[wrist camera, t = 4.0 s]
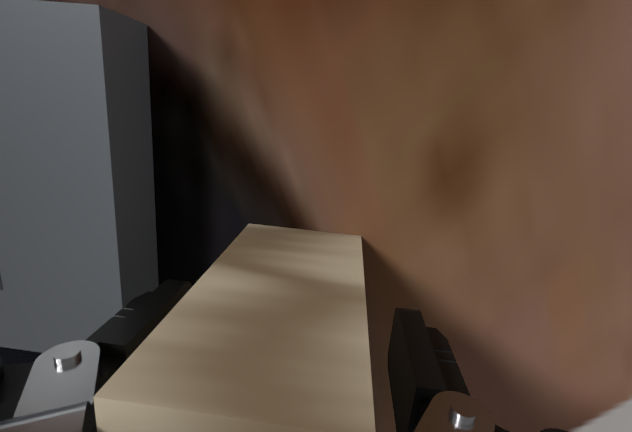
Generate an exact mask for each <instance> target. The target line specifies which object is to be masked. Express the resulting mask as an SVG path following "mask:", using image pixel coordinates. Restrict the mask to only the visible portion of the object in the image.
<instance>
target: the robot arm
mask: <svg viewBox="0 0 632 432" xmlns="http://www.w3.org/2000/svg"><path fill="white" fill-rule="evenodd" d="M191 288H192V285H191V283H190V282H189V281H181V280H173V279H166V280H165V281H164V282H163V283H161V284H160V285H159V286H158V287H157V288H156V289H155V290H154V291H153V292H150V291H148V292H146V293H144V294H142V295H140V296H138V297H135V298H133V299H132V300H131V301H130V302H129V303H128V304H127V305H125V306H124V307H123V309H121V310H120V311H118V312H117V313H116V314H115V316H114V317H111V318H110V319H109V320H108V321H107V322H106V323H105V324H103V325H102V326H101V327H100V328H99V329H98V330H96V331H95V332H94V333H93V334H92V335H91V336H89V337H88V338H87V339H86V340H77V341H70V342H66V343H62V344H59V345H57V346H54V347H52V348H50V349H48V350H46V351H45V352H43V353H42V354H41V355H40V356H39V357H38V358H37V359H36V360H35V362H32V363H20V364H9V365H2V360H1V355H0V432H97V425H96V417H95V408H94V399H93V397H94V395H95V394H96V393H97V392H98V391H99V390H100V389H101V388H102V387H103V385H104V384H105V383H106V382H107V381H108V380H109V379H110V378H111V377H112V375H113V374H114V373H115V372H116V371H117V370H118V369H119V368H120V367H121V365H122V364H123V363H124V362H125V361H126V360H127V359H128V358H129V357H130V355H131V354H132V353H133V352H134V351H135V350H136V349H137V348H138V347H139V345H140V344H141V343H142V342H143V341H144V340H145V339H146V338H147V337H148V335H149V334H150V333H151V332H152V331H153V330H154V329H155V328H156V327H157V325H158V324H159V323H160V322H161V321H162V320H163V319H164V318H165V317H166V315H167V314H168V313H169V312H170V311H171V310H172V309H173V308H174V307H175V305H176V304H177V303H178V302H179V301H180V300H181V299H182V298H183V296H184V295H185V294H186V293H187V292H188V291H189V290H190V289H191ZM388 372H389V379H390V387H391V394H392V401H393V408H394V416H395V423H396V430H397V432H509V431H507V430H504V429H502V428H500V427H499V426H497V425H495V422H494V419H493V417H492V415H491V413H490V412H489V411H488V409H487V408H486V407H485V406H484V405H482V404H481V403H480V402H479V401H477V400H476V399H474V398H472V397H471V396H470V394H469V391H468V389H467V387H466V384H465V382H464V379H463V377H462V375H461V372H460V370H459V367H458V365H457V363H456V360H455V358H454V355H453V353H452V350H451V348H450V345H449V343H448V341H447V339H446V338H445V337H444V336H443V335H442V334H441V333H440V332H439V331H438V330H437V329H436V328H429V327H426V326H425V323H424V320H423V317H422V314H421V312H420V311H419V310H411V309H403V308H396V310H395V314H394V320H393V326H392V332H391V338H390V344H389V350H388ZM540 432H567V431H564V430H560V429H552V428H549V429H544V430H542V431H540Z"/></svg>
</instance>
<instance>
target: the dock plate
mask: <svg viewBox="0 0 632 432" xmlns="http://www.w3.org/2000/svg"><path fill="white" fill-rule="evenodd" d="M158 286H159V282H158V260H157V238H156V215H155V193H154V171H153V148H152V126H151V104H150V81H149V59H148V36H147V25H146V24H144V23H141V22H139V21H137V20H134V19H132V18H129V17H127V16H124V15H122V14H120V13H117V12H115V11H112V10H110V9H107V8H105V7H103V6H100V5H94V4H80V3H66V2H52V1H38V0H0V347H6V348H13V349H20V350H27V351H34V352H41V353H43V352H45V351H46V350H48V349H50V348H52V347H54V346H57V345H59V344H62V343H66V342H70V341H77V340H86V339H87V338H88V337H89V336H91V335H92V334H93V333H94V332H95V331H96V330H98V329H99V328H100V327H101V326H102V325H103V324H105V323H106V322H107V321H108V320H109V319H110V318H111V317H114V316H115V314H116V313H117V312H118V311H120V310H121V309H123V307H124V306H125V305H127V304H128V303H129V302H130V301H131V300H132V299H133V298H135V297H138V296H140V295H142V294H144V293H146V292H148V291H150V292H153V291H154V290H155V289H156V288H157V287H158Z"/></svg>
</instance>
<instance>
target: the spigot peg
mask: <svg viewBox="0 0 632 432" xmlns="http://www.w3.org/2000/svg"><path fill="white" fill-rule="evenodd" d="M93 399H94V408H95V417H96V425H97V432H375V418H374V404H373V391H372V377H371V363H370V350H369V336H368V322H367V309H366V295H365V281H364V268H363V254H362V240H361V236H357V235H347V234H338V233H329V232H320V231H311V230H302V229H293V228H284V227H275V226H266V225H257V224H248V225H247V226H246V228H245V229H244V230H243V231H242V232H241V233H240V234H239V235H238V236H237V238H236V239H235V240H234V241H233V242H232V243H231V244H230V245H229V246H228V248H227V249H226V250H225V251H224V252H223V253H222V254H221V255H220V256H219V258H218V259H217V260H216V261H215V262H214V263H213V264H212V265H211V266H210V268H209V269H208V270H207V271H206V272H205V273H204V274H203V275H202V276H201V278H200V279H199V280H198V281H197V282H196V283H195V284H194V285H193V286H192V288H191V289H190V290H189V291H188V292H187V293H186V294H185V295H184V296H183V298H182V299H181V300H180V301H179V302H178V303H177V304H176V305H175V307H174V308H173V309H172V310H171V311H170V312H169V313H168V314H167V315H166V317H165V318H164V319H163V320H162V321H161V322H160V323H159V324H158V325H157V327H156V328H155V329H154V330H153V331H152V332H151V333H150V334H149V335H148V337H147V338H146V339H145V340H144V341H143V342H142V343H141V344H140V345H139V347H138V348H137V349H136V350H135V351H134V352H133V353H132V354H131V355H130V357H129V358H128V359H127V360H126V361H125V362H124V363H123V364H122V365H121V367H120V368H119V369H118V370H117V371H116V372H115V373H114V374H113V375H112V377H111V378H110V379H109V380H108V381H107V382H106V383H105V384H104V385H103V387H102V388H101V389H100V390H99V391H98V392H97V393H96V394H95V395H94V397H93Z"/></svg>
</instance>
